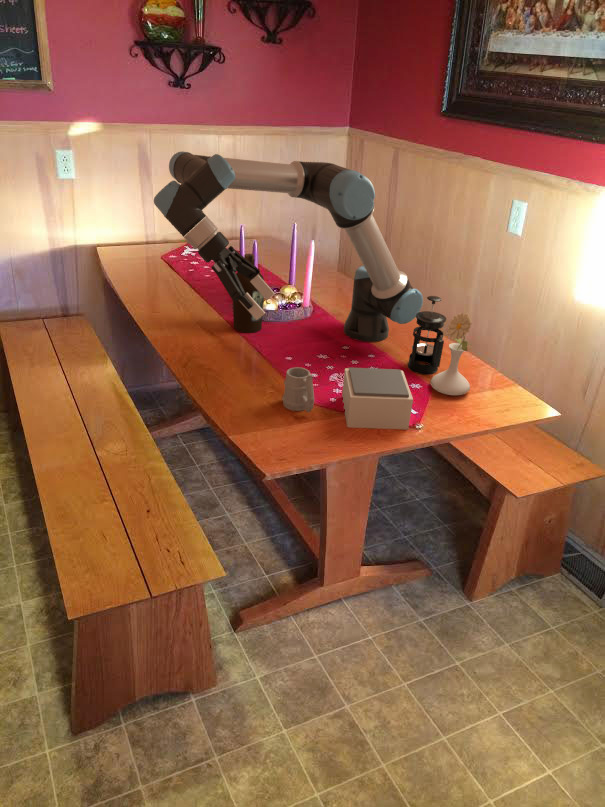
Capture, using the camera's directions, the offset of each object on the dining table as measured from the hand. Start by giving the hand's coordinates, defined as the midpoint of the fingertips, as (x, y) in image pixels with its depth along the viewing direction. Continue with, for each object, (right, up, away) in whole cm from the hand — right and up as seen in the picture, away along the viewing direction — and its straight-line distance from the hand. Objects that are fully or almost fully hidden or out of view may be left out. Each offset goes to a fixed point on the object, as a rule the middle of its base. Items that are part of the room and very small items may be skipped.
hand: (266, 306), depth 167 cm
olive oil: (-9, +1, +57) cm, 58 cm away
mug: (+8, -26, +13) cm, 30 cm away
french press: (+46, -14, +39) cm, 62 cm away
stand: (+28, -27, +13) cm, 41 cm away
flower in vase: (+52, -21, +27) cm, 62 cm away
